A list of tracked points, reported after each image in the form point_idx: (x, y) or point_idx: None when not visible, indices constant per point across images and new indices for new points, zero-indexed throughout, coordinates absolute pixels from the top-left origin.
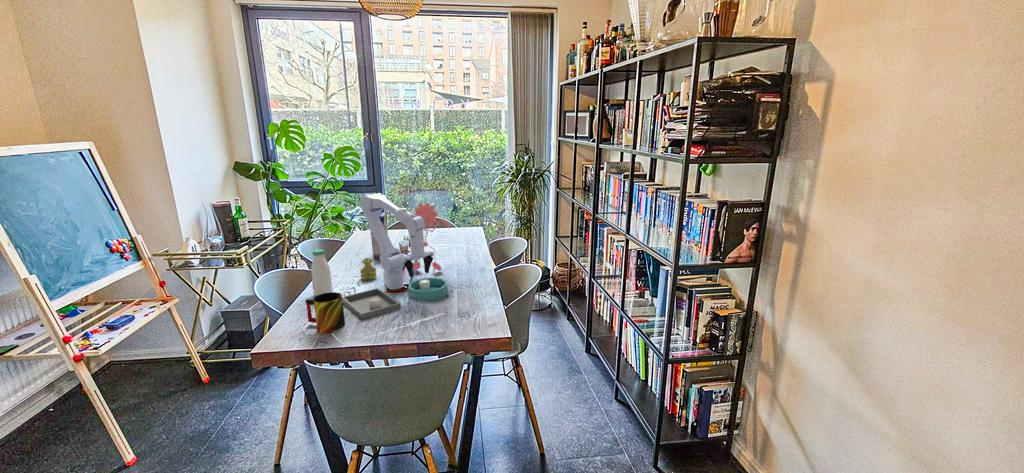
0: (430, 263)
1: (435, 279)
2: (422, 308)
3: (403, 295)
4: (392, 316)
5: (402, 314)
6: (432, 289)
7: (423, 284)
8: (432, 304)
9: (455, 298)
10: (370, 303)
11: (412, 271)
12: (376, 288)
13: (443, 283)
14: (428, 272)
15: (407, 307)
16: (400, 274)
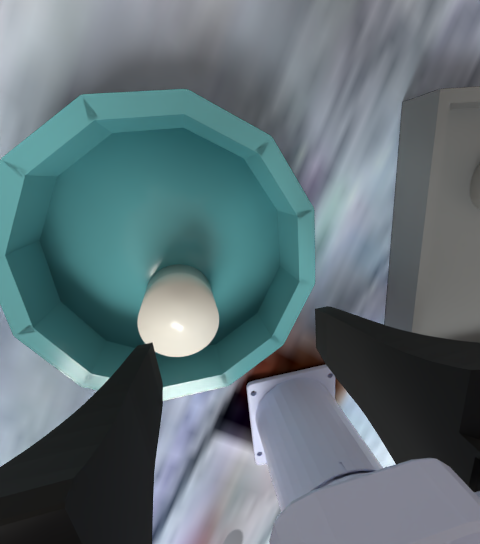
0: (66, 426)
1: (73, 352)
2: (299, 30)
3: None
4: (474, 42)
5: (427, 28)
6: (132, 277)
7: (201, 287)
8: (216, 51)
9: (5, 38)
10: None
11: (359, 327)
12: None
13: (26, 270)
14: (136, 348)
15: (359, 117)
16: (311, 455)
